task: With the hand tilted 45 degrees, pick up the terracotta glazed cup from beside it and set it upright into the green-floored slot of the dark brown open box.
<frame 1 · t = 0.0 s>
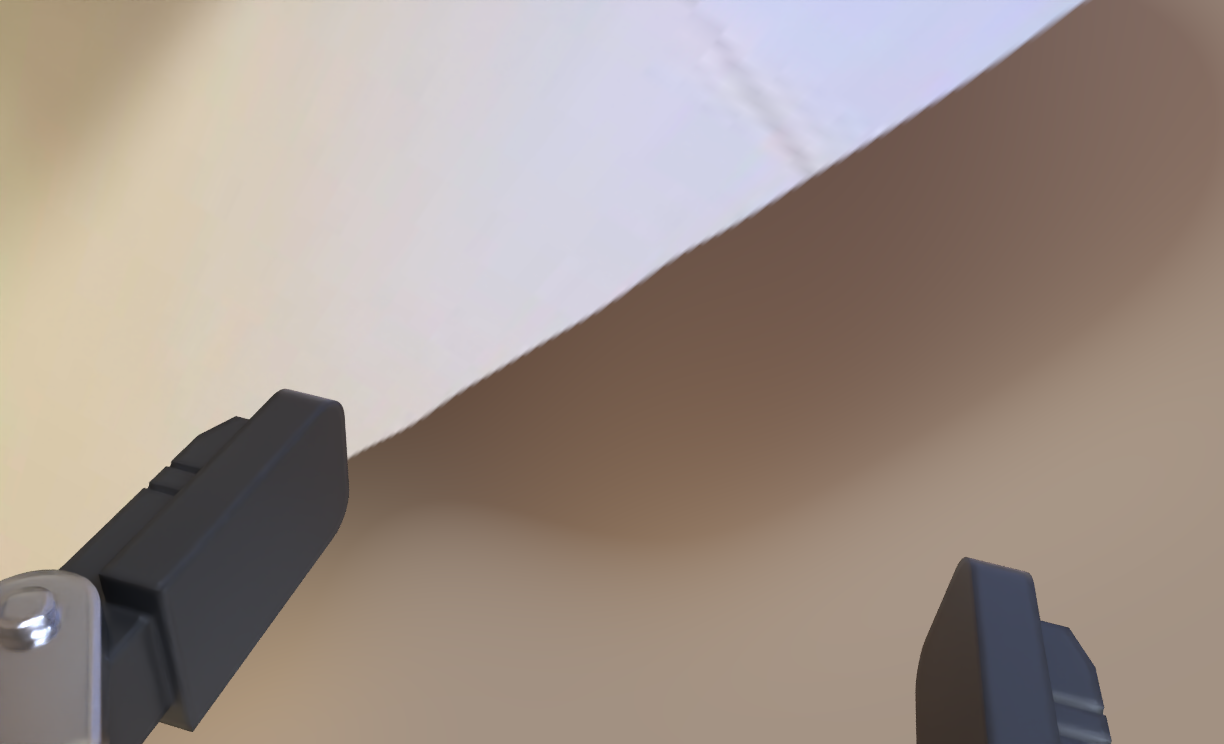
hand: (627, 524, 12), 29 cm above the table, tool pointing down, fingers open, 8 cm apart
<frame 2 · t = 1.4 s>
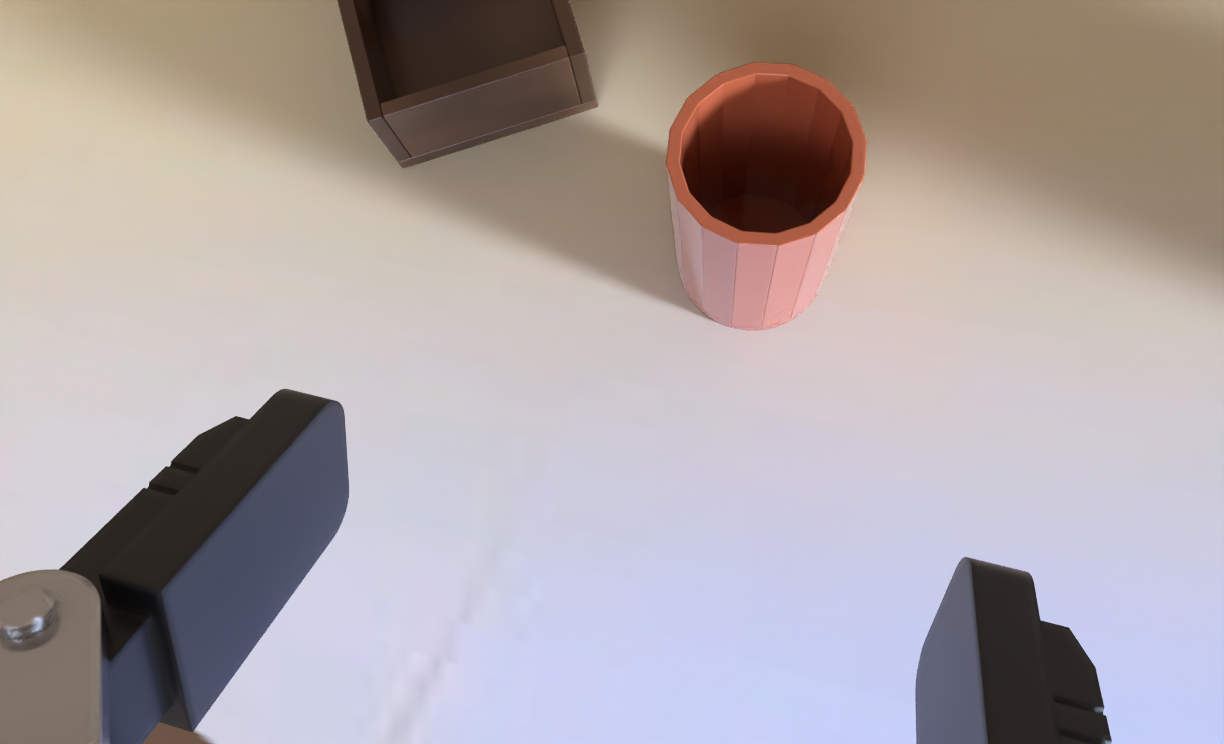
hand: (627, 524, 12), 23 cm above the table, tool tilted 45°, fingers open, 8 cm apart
cup: (751, 259, 37), on the table
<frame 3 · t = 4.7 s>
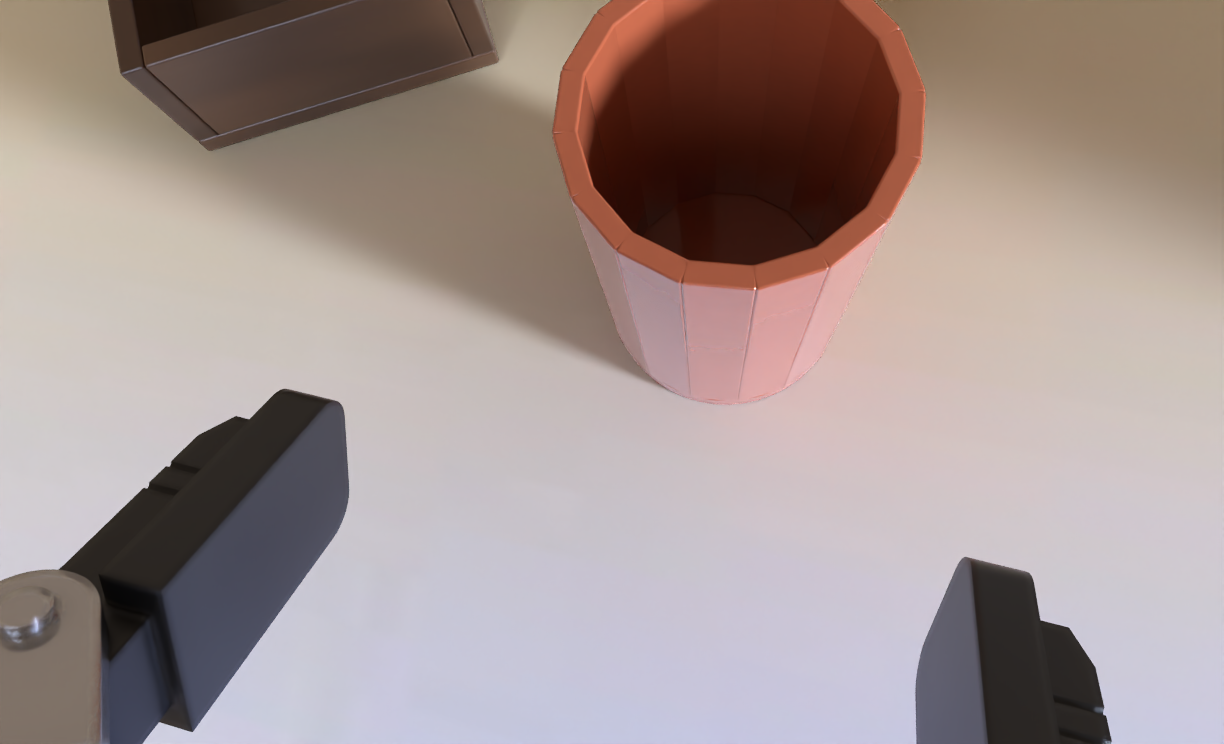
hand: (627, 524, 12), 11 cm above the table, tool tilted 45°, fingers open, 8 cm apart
cup: (724, 294, 24), on the table
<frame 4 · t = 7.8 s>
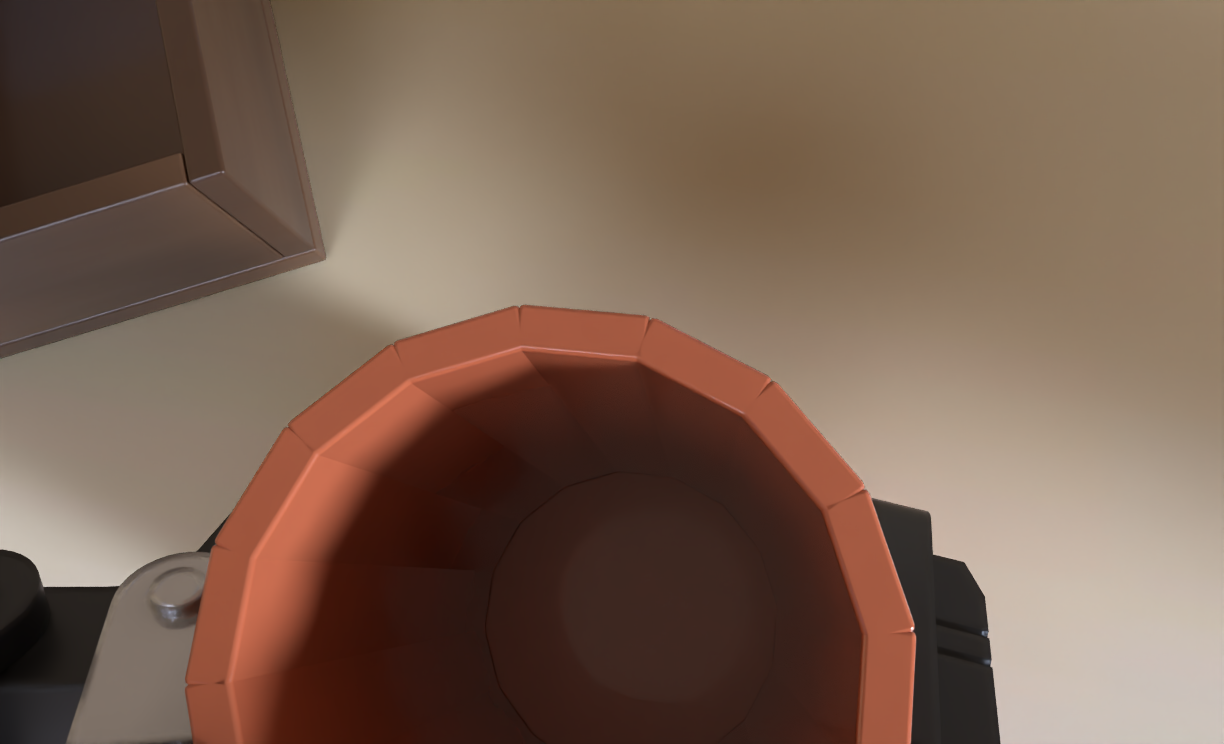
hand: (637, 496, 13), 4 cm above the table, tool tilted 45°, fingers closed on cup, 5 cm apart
cup: (631, 616, 17), on the table, touching gripper
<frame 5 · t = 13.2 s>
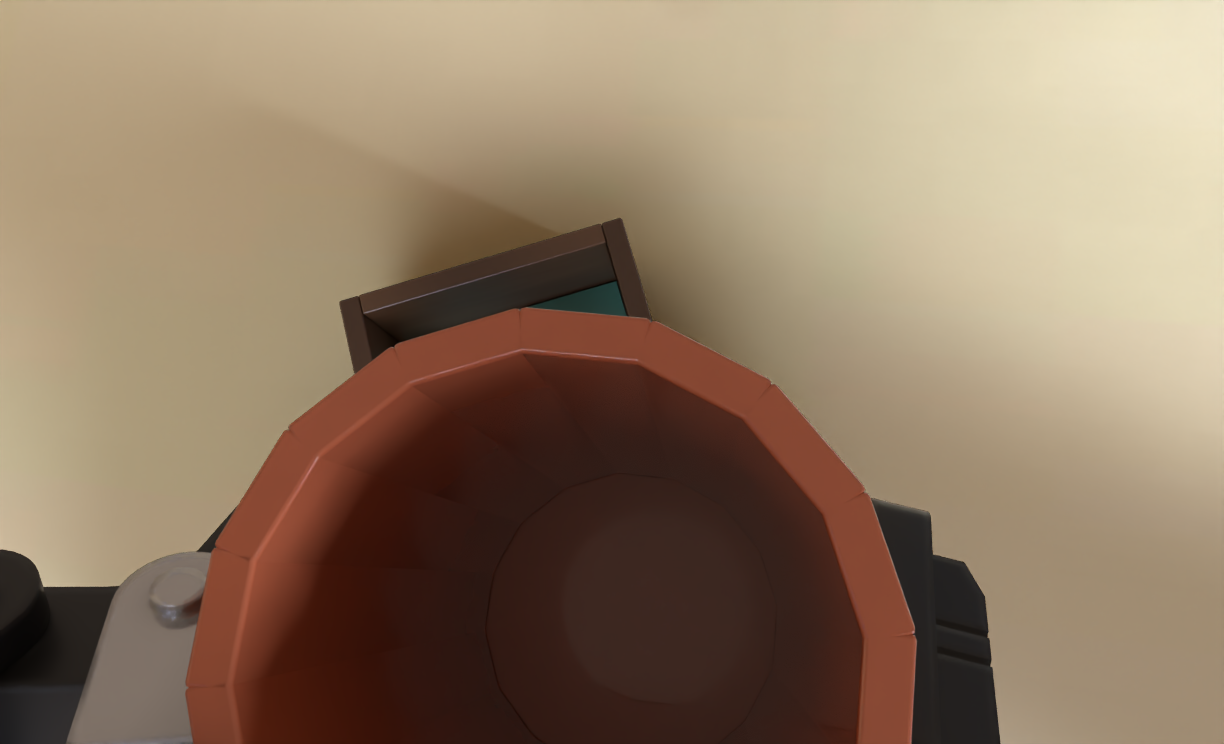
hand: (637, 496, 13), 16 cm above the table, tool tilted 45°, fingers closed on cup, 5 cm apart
cup: (632, 617, 17), point 12 cm above the table, touching gripper
dark brown open box: (572, 544, 29), on the table
when the fingers open (5 cm above the table, at t = 18.8 s): cup stays where it is, resting on dark brown open box.
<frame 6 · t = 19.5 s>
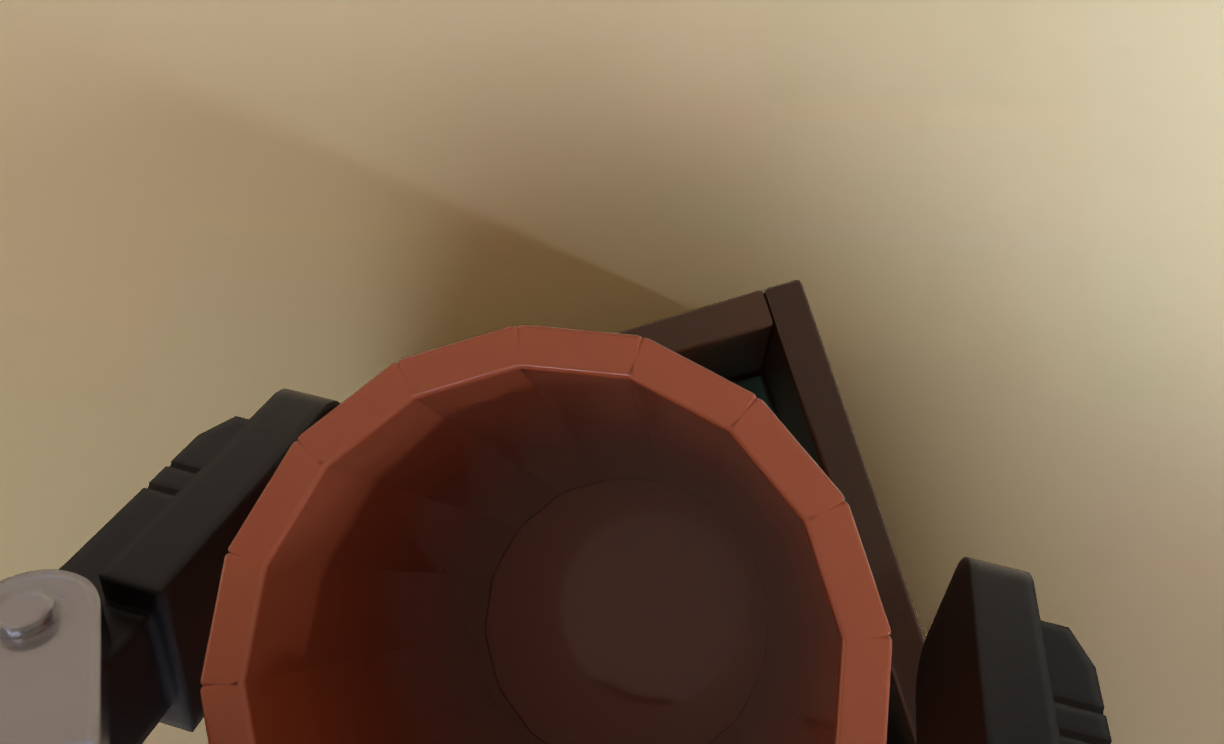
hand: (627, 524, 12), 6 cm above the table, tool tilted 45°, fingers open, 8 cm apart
cup: (628, 618, 17), point 1 cm above the table, touching dark brown open box
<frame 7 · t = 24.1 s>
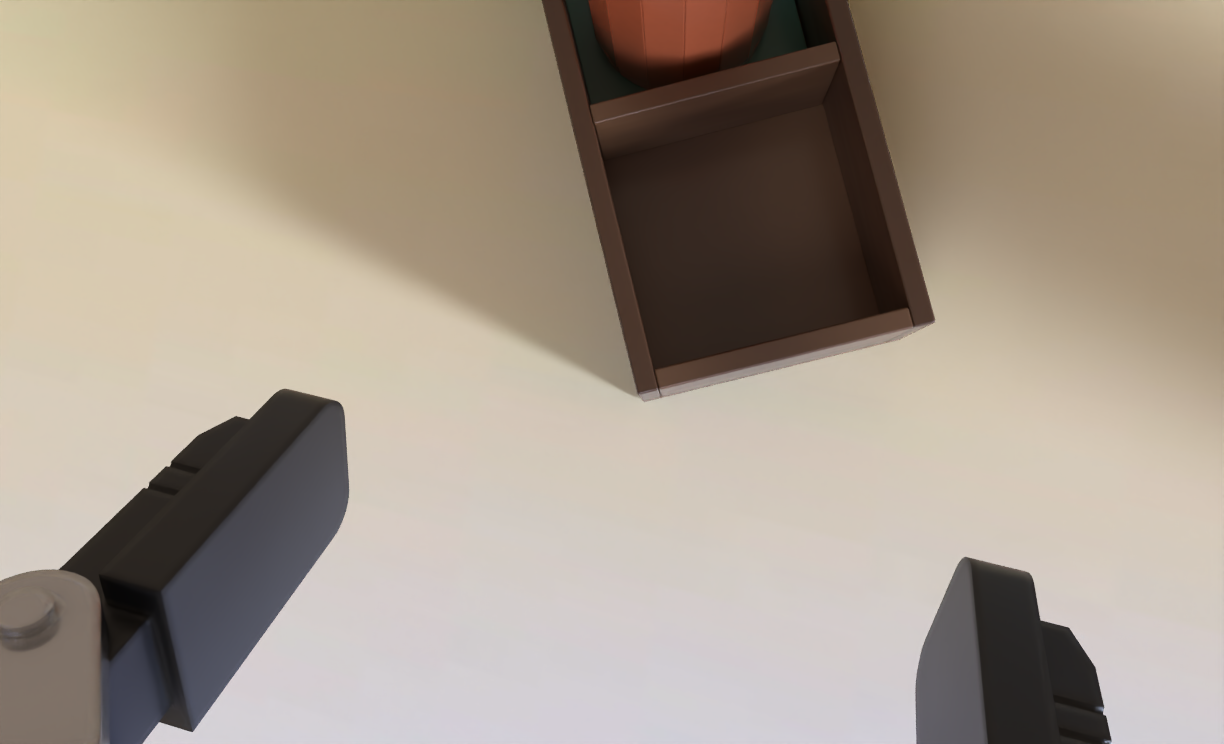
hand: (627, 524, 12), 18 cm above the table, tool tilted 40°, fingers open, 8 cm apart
cup: (679, 9, 30), point 1 cm above the table, touching dark brown open box
dark brown open box: (709, 130, 31), on the table
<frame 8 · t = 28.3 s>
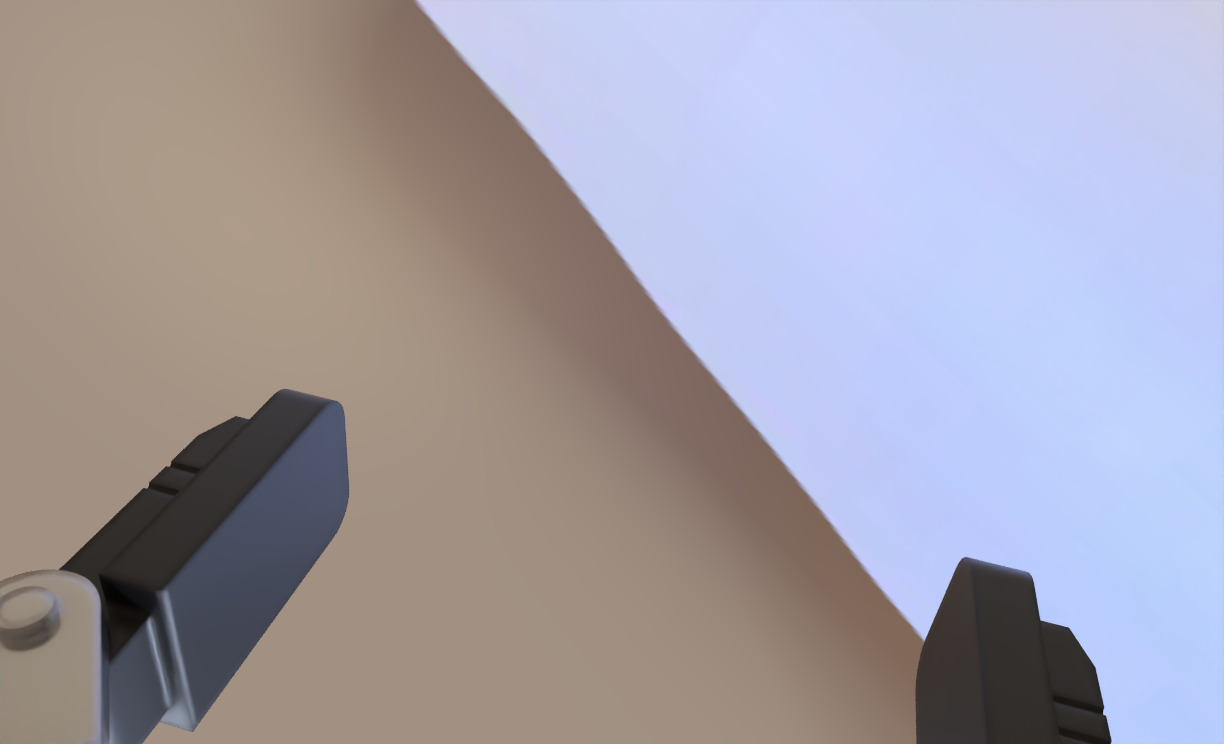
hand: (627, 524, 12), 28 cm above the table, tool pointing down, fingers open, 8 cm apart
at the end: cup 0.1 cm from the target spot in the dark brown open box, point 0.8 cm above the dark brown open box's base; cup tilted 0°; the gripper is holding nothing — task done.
